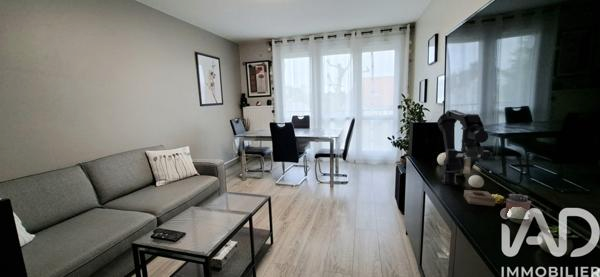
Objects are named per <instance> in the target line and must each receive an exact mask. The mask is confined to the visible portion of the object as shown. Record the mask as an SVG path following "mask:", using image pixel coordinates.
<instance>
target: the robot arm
mask: <svg viewBox="0 0 600 277" xmlns="http://www.w3.org/2000/svg"><path fill="white" fill-rule="evenodd" d="M437 119H438V120H437V126H438V129H439V130H440V132H442V136H443V142H444V143H443V144H444V151H445V157H444V160H443V164H442V165H441V167H440V172H441V173H443V175H444V176H443V179H442V180H441V181H442V183H443V182H444V183H443V184H444V185H450V186H451V185H452V186H457V185H458V183H457V181H456V179H457V177H456V176H457V174H458V175H460V174H461V171H463V170H464V158H465V157H464V156H466V158H471V166H470V171H472V169H473V168H474V165H475V164H476V162H477V161H478V160H481V159H482V157H483V158H487V159H491V158H492V157H493V156H492V155H493V154H492V152H491V151H489V150H487V149H485V148H484V147H483V146H477V143H481V144H483V143H485V142H487V141H488V139H489V134H488V132H487V131H486V130H485V128H484V123H483V122H482V119H481V117H480V115H479V114H477V113H472V114H470V113H464V112H461V111H458V110H456V109H452V110H451V109H450V110H447V111H446V112H445V113H443V114H442V115H440V116H439V117H438V118H437ZM458 121H459V124H460V125H462V127H461V130H462V138H461V148H460V150H456V147H455V143H454V142H455V141H454V135H453V130H454V128H455V124H456V123H457V122H458Z"/></svg>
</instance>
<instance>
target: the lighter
mask: <svg viewBox="0 0 600 277" xmlns="http://www.w3.org/2000/svg"><path fill="white" fill-rule="evenodd" d="M528 199H529V196H528V195H524V194H521V193H518V194H514V193H509V194H508V198H506V200H505V201H506V202H505V203H506V204H505V205H506V206H505V213H504V217H505V218H507V213H508V211H509V209H511V208H512V207H522V208H524V209H526V210H531V205H532V201H531V200H528Z"/></svg>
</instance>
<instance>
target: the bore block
mask: <svg viewBox="0 0 600 277" xmlns="http://www.w3.org/2000/svg"><path fill="white" fill-rule="evenodd" d="M463 198H464V199H465V200H466V202H467V203H468V204H470V205H479V206H480V205H481V206H489V207H490V206H491V207H495V206H496V198H495V197H494V196H493V195H492V194H491V193H490V192H489V191H485V190H484V191H482V190H469V189H464V191H463Z"/></svg>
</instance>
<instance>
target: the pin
mask: <svg viewBox="0 0 600 277" xmlns="http://www.w3.org/2000/svg"><path fill="white" fill-rule="evenodd" d="M470 166H471V157H464V170H463V169H462V174H464V175H471V170H470Z"/></svg>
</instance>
